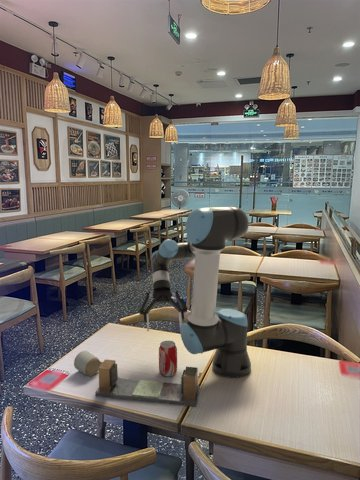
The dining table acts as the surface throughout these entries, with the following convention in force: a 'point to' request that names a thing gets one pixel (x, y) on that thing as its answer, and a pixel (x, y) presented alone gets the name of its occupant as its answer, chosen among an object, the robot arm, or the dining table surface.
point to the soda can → (167, 358)
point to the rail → (148, 387)
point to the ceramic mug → (87, 363)
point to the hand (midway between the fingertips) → (164, 329)
